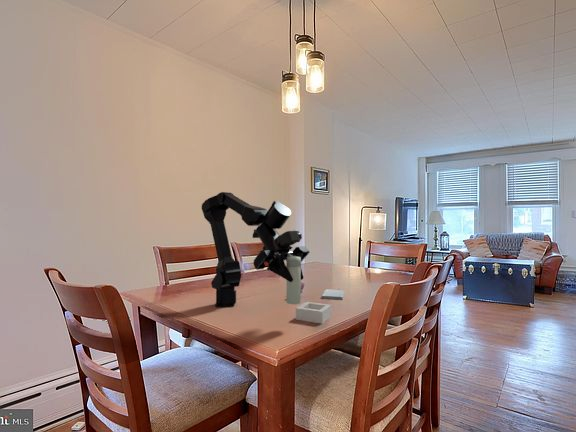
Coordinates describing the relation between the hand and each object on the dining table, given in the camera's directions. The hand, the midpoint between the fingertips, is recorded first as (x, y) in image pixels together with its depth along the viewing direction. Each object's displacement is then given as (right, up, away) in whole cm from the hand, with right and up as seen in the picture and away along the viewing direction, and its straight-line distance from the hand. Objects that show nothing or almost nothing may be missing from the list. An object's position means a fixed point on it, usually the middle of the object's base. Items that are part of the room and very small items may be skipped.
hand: (297, 280), depth 91 cm
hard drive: (+16, -15, +39) cm, 45 cm away
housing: (+5, -14, +9) cm, 17 cm away
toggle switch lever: (-1, -7, +1) cm, 7 cm away
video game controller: (+1, -14, +36) cm, 39 cm away
